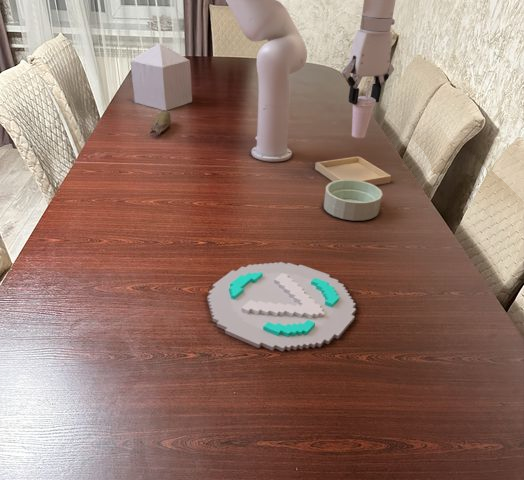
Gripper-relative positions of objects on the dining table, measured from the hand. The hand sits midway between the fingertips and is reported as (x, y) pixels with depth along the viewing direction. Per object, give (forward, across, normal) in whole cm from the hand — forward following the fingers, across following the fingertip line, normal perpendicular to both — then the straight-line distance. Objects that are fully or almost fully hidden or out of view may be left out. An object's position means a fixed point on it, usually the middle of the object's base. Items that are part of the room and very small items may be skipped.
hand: (363, 101), depth 141 cm
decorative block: (+21, +29, -88) cm, 95 cm away
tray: (+20, 0, 0) cm, 20 cm away
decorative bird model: (+21, +40, -56) cm, 72 cm away
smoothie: (+9, 0, 0) cm, 9 cm away
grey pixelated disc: (+21, +50, +50) cm, 74 cm away
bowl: (+20, +13, +19) cm, 31 cm away
